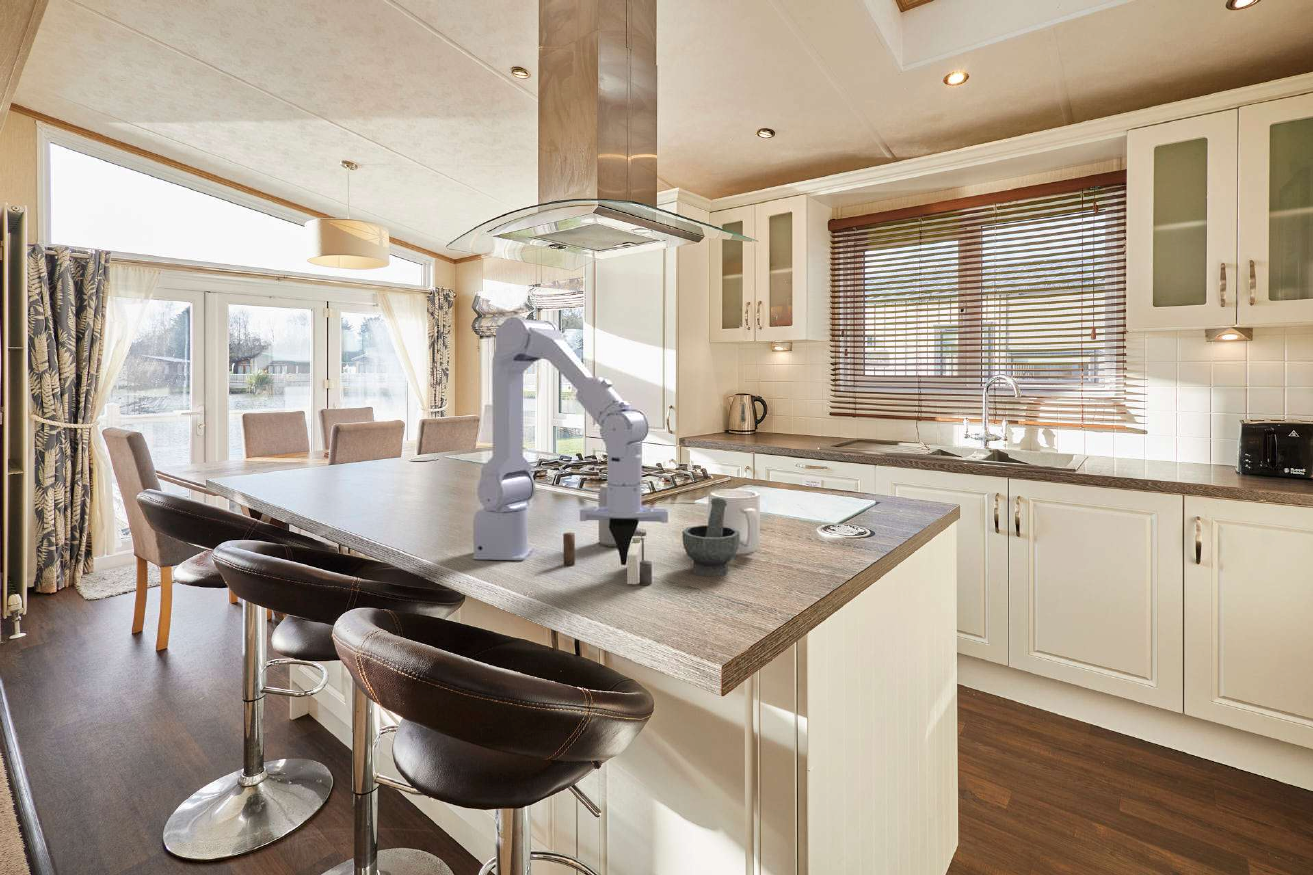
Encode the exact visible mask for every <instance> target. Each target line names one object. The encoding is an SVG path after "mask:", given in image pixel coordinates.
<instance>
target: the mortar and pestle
mask: <svg viewBox="0 0 1313 875" xmlns="http://www.w3.org/2000/svg"><path fill="white" fill-rule="evenodd" d="M711 504H712V508H711V513H710V517H709V522H708V521H707V524H700V525H694V526H688V527H686V528H685V529H684V530H682V544H683V548H684V551H685V552H686V554H687V556H688V557H689V558H690V559H691V560H692V561H693V564H692V571H693V572H694V573H695V574H698V575H701V576H712V577H715V576H716V577H717V576H718V577H719V576H721V575H726V574H727V573H728V572H729V563H728V562H730V560H732V559H733V557H734V556H735V555H736V554H735V553H736V551H737V549H738V545H739V540H740V532H739V531H737V530H735V529H734V528H730V527H725V526H723V523H724V511H725V507H726V505H727V502H726V500H724V499H721V498H714V499H712V500H711Z"/></svg>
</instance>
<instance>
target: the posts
mask: <svg viewBox="0 0 1313 875" xmlns="http://www.w3.org/2000/svg"><path fill="white" fill-rule="evenodd" d="M562 536H563V538H562V540H563V548H562V549H563V550H562V551H563V553H562V554H563V565H564V566H565V567H567V566H568V567H570V566H571V567H572V566H575V564H576V555H575V554H576V552H575V550H576V548H575V546H576V541H575V540H576V539H575V537H576V535H575V533H574V532H565V533H563V535H562ZM641 540H642V561H640V567H639V578H638V580H639V585H641V586H650V585H652V584H653V582H652V581H653V578H652V577H653V576H652V575H653V574H652V572H653V571H652V570H653V569H652V568H653V567H652V566H653V562H652V561H651V560H645V538H644V537H642V538H641Z"/></svg>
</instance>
